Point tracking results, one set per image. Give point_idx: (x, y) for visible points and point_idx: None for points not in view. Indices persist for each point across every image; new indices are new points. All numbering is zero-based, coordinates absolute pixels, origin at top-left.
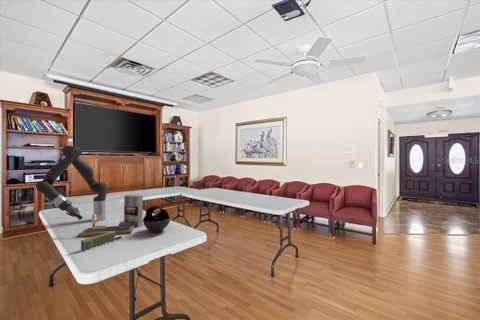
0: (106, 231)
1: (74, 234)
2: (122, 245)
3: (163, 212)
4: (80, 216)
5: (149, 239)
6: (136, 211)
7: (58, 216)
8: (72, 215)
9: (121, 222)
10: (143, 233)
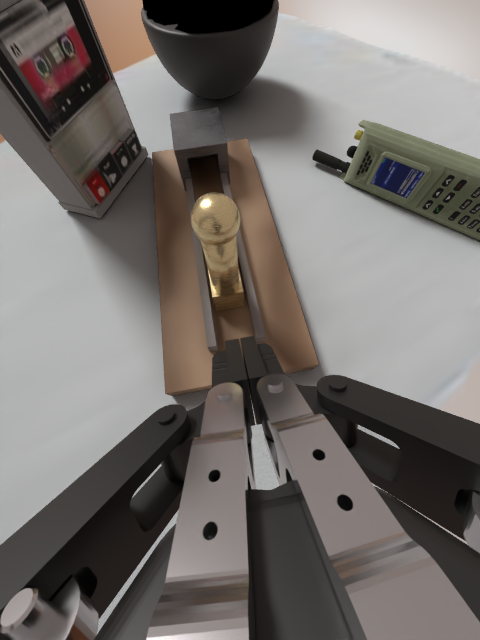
0: (249, 228)
1: None
2: None
3: None
4: (257, 351)
5: (314, 90)
6: (90, 41)
7: None
8: (367, 446)
9: (201, 139)
10: (244, 119)
